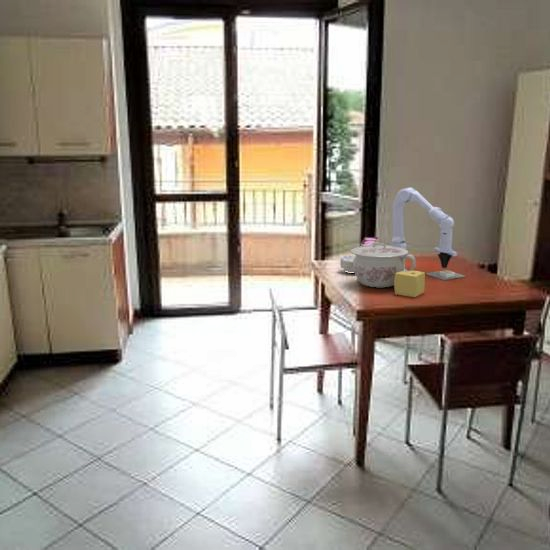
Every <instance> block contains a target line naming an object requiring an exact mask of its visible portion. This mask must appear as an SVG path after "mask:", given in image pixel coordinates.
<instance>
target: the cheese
mask: <svg viewBox="0 0 550 550" xmlns="http://www.w3.org/2000/svg"><path fill="white" fill-rule="evenodd" d="M425 278H426V273H425V271H419V270H412V271H401V272H397V273H395V279H394V285H393V288H394V294H395V295H397V294H398V295H399V296H403V297H411V298H417V297H418V296H420V295H422V294H424V293H425V284H426V283H425V282H426V281H425V280H426V279H425ZM398 295H397V296H398Z"/></svg>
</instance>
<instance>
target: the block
mask: <svg viewBox="0 0 550 550" xmlns="http://www.w3.org/2000/svg"><path fill="white" fill-rule="evenodd" d="M438 272H439V275H440V276H444V277H447V278H448V277H455V273H456V272H454V271H451V270H448V269H447V270H440V271H439V270H438Z"/></svg>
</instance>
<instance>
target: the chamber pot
mask: <svg viewBox="0 0 550 550" xmlns="http://www.w3.org/2000/svg"><path fill="white" fill-rule="evenodd" d="M350 254H351V255H356V256H355V258H354V260H353V267H354V273H355V274H354V275H355V277H356V279H357V280H358V282H359V283H360V284H362V285H363V286H365V285H366V286H365V287H368V286H369V287H368V288H373V287H376V288H375V289H384V288H385V287H387V288H390V287H394V279H395V273H397V272H401V271H404V268H405V267H406V259H410V260H411V266H410V268H409V269H407V270H408V271H414V270H415V268H416V266H417V260H416V258H415V255H413V254H411V253H409V251H408V249H403V248H400V247H396V246H391V245H389V244H384V243H382V242H378V243H375V244H374V245H366V246H361V245H360V246H357V247H353V248H352V249H350ZM404 255H405V256H404ZM403 256H404V257H403ZM405 269H406V268H405ZM385 289H386V288H385Z"/></svg>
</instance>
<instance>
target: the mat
mask: <svg viewBox="0 0 550 550" xmlns="http://www.w3.org/2000/svg"><path fill="white" fill-rule="evenodd" d="M425 276H429V277H432V278H435V279H438V280H442V281H449V280H450V281H451V280H456V279H455V278H457V279H462V277H463V278H466V277H467V276H466V275H463V274H460V273H457V272H455V277H448V278H447V277H444V276H440V275H439V271H434V272H432V271H431V272H426V273H425Z"/></svg>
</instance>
